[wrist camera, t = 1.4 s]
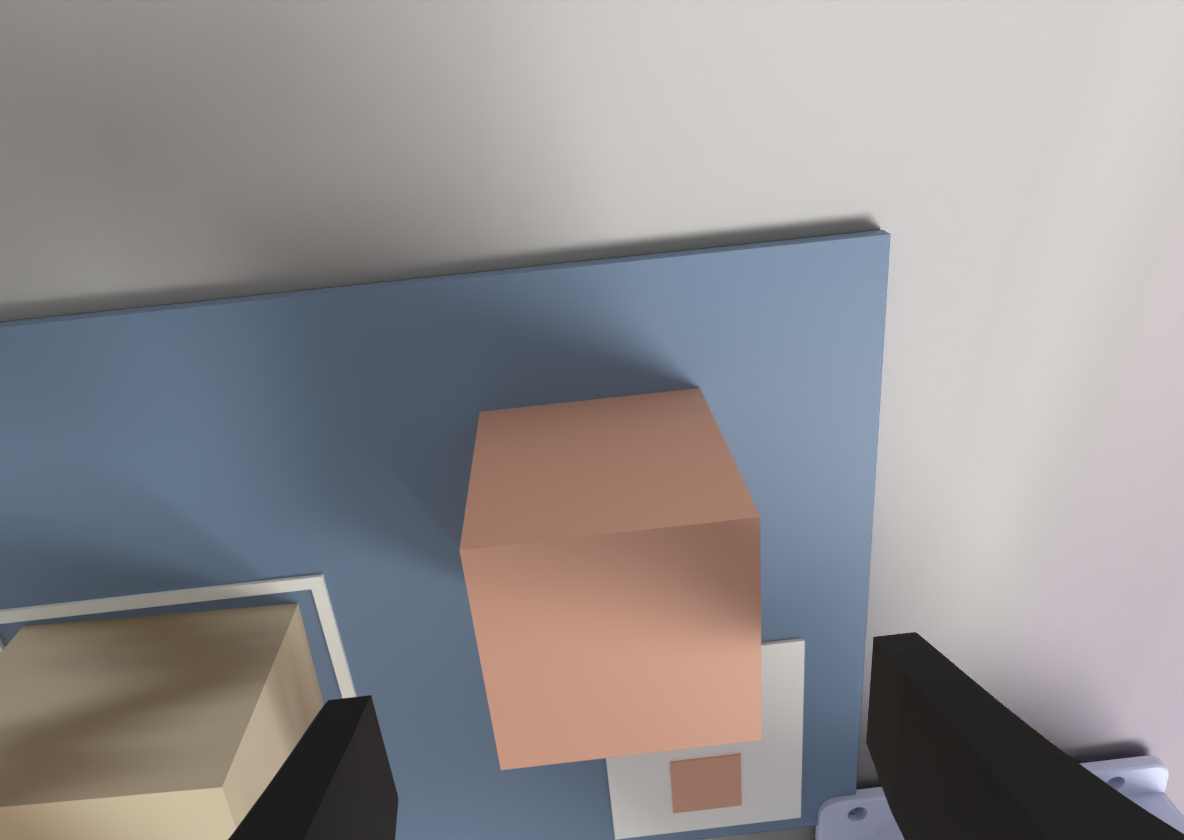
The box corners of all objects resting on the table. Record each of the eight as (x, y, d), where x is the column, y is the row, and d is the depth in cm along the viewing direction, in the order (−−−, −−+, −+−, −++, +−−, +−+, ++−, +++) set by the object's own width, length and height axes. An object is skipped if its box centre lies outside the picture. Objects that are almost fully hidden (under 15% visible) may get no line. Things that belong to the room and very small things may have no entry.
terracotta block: (700, 388, 17) (760, 516, 12) (706, 570, 19) (761, 739, 14) (479, 411, 17) (459, 550, 12) (509, 592, 19) (500, 770, 14)
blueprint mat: (882, 229, 16) (893, 235, 16) (848, 808, 23) (856, 825, 23) (-370, 360, 16) (-401, 371, 15) (-28, 911, 23) (-41, 932, 22)
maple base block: (297, 603, 19) (222, 787, 14) (346, 795, 21) (295, 1004, 17) (23, 626, 18) (-145, 820, 14) (105, 818, 21) (-14, 1035, 16)
